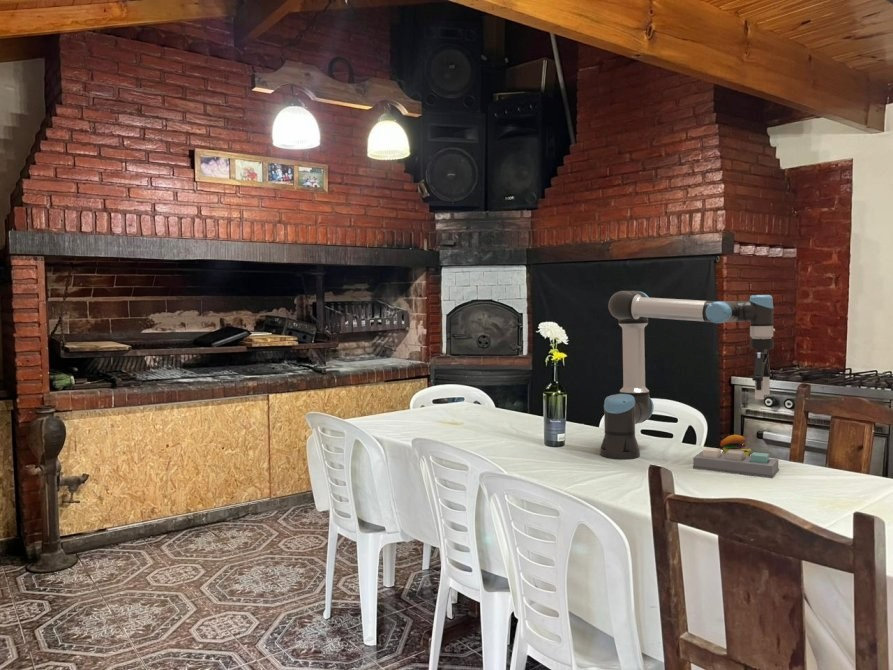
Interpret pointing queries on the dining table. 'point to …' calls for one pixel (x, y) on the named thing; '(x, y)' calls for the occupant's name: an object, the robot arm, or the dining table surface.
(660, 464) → the dining table surface
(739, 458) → the key grey
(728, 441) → the cheeseburger
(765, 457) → the key teal
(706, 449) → the key ivory
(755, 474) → the keypad base
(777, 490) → the dining table surface
